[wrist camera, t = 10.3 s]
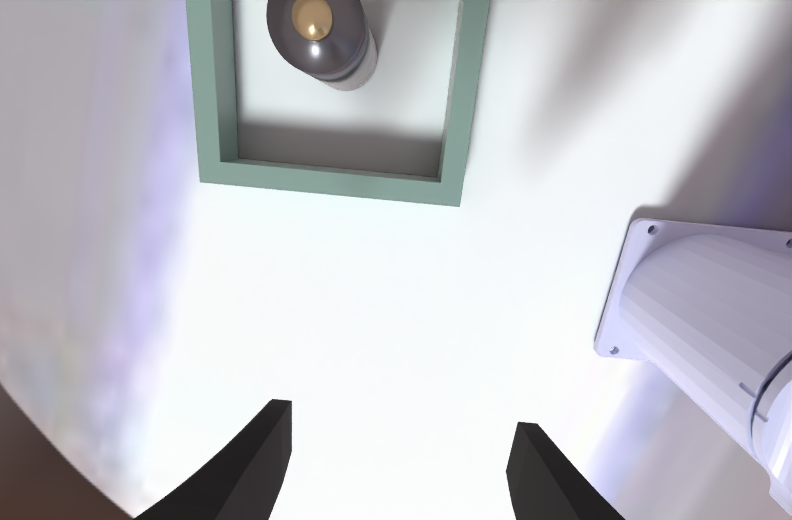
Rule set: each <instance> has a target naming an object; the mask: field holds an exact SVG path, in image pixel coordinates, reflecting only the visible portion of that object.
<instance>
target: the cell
mask: <svg viewBox="0 0 792 520" xmlns="http://www.w3.org/2000/svg"><path fill="white" fill-rule="evenodd" d="M267 25H268V30H269V34H270V37H271V39H272V42H273V44H274V45H275V47H276V49H277V50H278V52H279V53H280V55H281V56H282V57H283V58H284V59H285V60H286V61H287V62H288V63H290V64H291V65H292V66H294V67H295V68H297V69H299V70H301V71H303V72H305V73H306V74H308V75H310V76H312V77H314V78H316V79H318V80H319V81H321V82H323V83H325V84H327V85H329V86H330V87H332V88H334V89H337V90H342V91H350V90H355V89H357V88H359V87H361V86H363V85H364V84H365V83H366V82H367V81H368V80H369V79H370V78H371V76H372V74H373V73H374V70H375V67H376V64H377V48H376V44H375V41H374V38H373V35H372V32H371V30H370V27H369V24H368V22H367V19H366V16H365V13H364V11H363V8H362V5H361V3H360V0H268V4H267Z"/></svg>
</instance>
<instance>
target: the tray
mask: <svg viewBox="0 0 792 520" xmlns="http://www.w3.org/2000/svg"><path fill="white" fill-rule="evenodd" d="M489 4H490V0H460V1H459V9H458V18H457V26H456V34H455V42H454V50H453V58H452V66H451V74H450V82H449V90H448V98H447V106H446V114H445V122H444V130H443V138H442V146H441V154H440V162H439V170H438V178H437V177H427V176H416V175H406V174H396V173H385V172H375V171H364V170H354V169H343V168H333V167H322V166H312V165H301V164H291V163H280V162H270V161H259V160H249V159H239V154H238V131H237V108H236V86H235V63H234V40H233V18H232V0H186V11H187V24H188V36H189V49H190V62H191V75H192V88H193V100H194V113H195V126H196V139H197V151H198V164H199V177H200V182H203V183H214V184H224V185H235V186H245V187H256V188H266V189H277V190H287V191H298V192H308V193H319V194H329V195H340V196H350V197H361V198H371V199H382V200H392V201H403V202H413V203H424V204H434V205H445V206H455V207H460V201H461V195H462V188H463V181H464V174H465V167H466V161H467V154H468V147H469V140H470V133H471V127H472V120H473V113H474V106H475V100H476V93H477V86H478V79H479V72H480V66H481V59H482V52H483V45H484V38H485V32H486V25H487V18H488V11H489Z"/></svg>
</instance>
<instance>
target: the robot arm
mask: <svg viewBox="0 0 792 520" xmlns="http://www.w3.org/2000/svg"><path fill="white" fill-rule="evenodd" d="M652 225H654V229H653V231H652V232H650V233H648V229H649V227H650V226H652ZM788 240H790V242H789V243H788V244H787V245H786V243H787V242H788ZM612 347H615V349H614V350H612V351H610V349H611V348H612ZM594 351H595V352H596V353H597V354H598V355H599V356H601V357H609V358H619V359H630V360H641V361H651V362H654V363H655V364H656V365H657V366H658V367H659V368H660V369H661V370H662V371H663V372H664V373H665V374H666V375H667V376H668V377H669V378H670V379H671V380H672V381H673V382H675V383H676V384H677V385H678V386H679V387H680V388H681V389H682V390H683V391H684V392H685V393H686V394H687V395H688V396H689V397H690V398H691V399H692V400H693V401H694V402H695V403H697V404H698V405H699V406H700V407H701V408H702V409H703V410H704V411H705V412H706V413H707V414H708V415H709V416H710V417H711V418H712V419H713V420H714V421H715V422H716V423H717V424H719V425H720V426H721V427H722V428H723V429H724V430H725V431H726V432H727V433H728V434H729V435H730V436H731V437H732V438H733V439H734V440H735V441H736V442H737V443H738V444H739V445H741V446H742V447H743V448H744V449H745V450H746V451H747V452H748V453H749V454H750V455H751V456H752V457H753V458H754V459H755V460H756V461H757V462H758V463H759V464H760V465H762V466H763V467H764V468H765V469H766V471H767V472H768V474H769V476H770V479H771V487H770V491H769V494H770V495H771V496H772V497H773V498H774V499H775V500H776V501H777V502H778V503H779V504H780V505H781V506H782V507H783V509H784V510H785V511H786V512H787V513H788V514H789V515H790V516H791V517H792V232H785V231H775V230H764V229H754V228H743V227H733V226H722V225H712V224H701V223H691V222H680V221H670V220H659V219H649V218H638V219H636V220H634V221H633V222H632V223H631V225H630V227H629V230H628V234H627V237H626V240H625V244H624V247H623V250H622V254H621V257H620V260H619V264H618V267H617V270H616V273H615V277H614V280H613V283H612V287H611V290H610V293H609V297H608V300H607V303H606V307H605V310H604V313H603V317H602V320H601V323H600V327H599V330H598V333H597V337H596V340H595V343H594ZM291 452H292V401H288V400H278V399H272V400H271V401H269V402H268V403H267V404H266V406H265V407H264V408H263V409H262V410H261V411H260V412H259V413H258V414H257V415H256V416H255V417H254V418H253V419H252V420H251V421H250V422H249V423H248V424H247V425H246V426H245V427H244V428H243V429H242V430H241V431H240V432H239V433H238V434H237V435H236V436H235V437H234V438H233V439H232V440H231V441H230V442H229V443H228V444H227V445H226V446H225V447H224V448H223V449H222V450H221V451H219V452H218V453H217V454H216V455H215V456H214V457H213V458H212V459H210V460H209V461H208V462H207V463H206V464H205V465H204V466H202V467H201V468H200V469H199V470H198V471H197V472H196V473H194V474H193V475H192V476H191V477H189V478H188V479H187V480H186V481H185V482H183V483H182V484H181V485H180V486H178V487H177V488H176V489H174V490H173V491H172V492H170V493H169V494H168V495H167V496H165V497H164V498H163V499H161V500H160V501H159V502H157V503H156V504H154V505H153V506H151V507H150V508H149V509H147V510H146V511H144V512H143V513H142V514H140V515H139V516H137V517H136V518H134V519H133V520H268V519H269V517H270V514H271V512H272V509H273V507H274V504H275V502H276V499H277V497H278V494H279V492H280V489H281V487H282V484H283V480H284V477H285V473H286V470H287V466H288V463H289V459H290V456H291ZM506 474H507V480H508V486H509V491H510V496H511V501H512V506H513V510H514V513H515V517H516V520H625V519H624V518H623V517H622V516H621V515H620V514H619V513H618V512H617V511H616V510H615V509H614V508H613V507H612V506H611V505H610V504H609V503H608V502H607V501H606V500H605V499H604V498H603V497H602V496H601V495H600V494H599V493H598V492H597V491H596V490H595V488H594V487H593V486H592V485H591V484H590V483H589V482H588V481H587V480H586V479H585V478H584V477H583V476H582V474H581V473H580V472H579V471H578V470H577V469H576V468H575V467H574V466H573V464H572V463H571V462H570V461H569V460H568V459H567V458H566V456H565V455H564V454H563V453H562V452H561V451H560V449H559V448H558V447H557V446H556V445H555V444H554V442H553V441H552V440H551V439H550V438H549V437H548V435H547V434H546V433H545V432H544V431H543V430H542V429H541V427H540V426H539V425H538V424H536V423H525V422H518V424H517V428H516V432H515V436H514V440H513V444H512V448H511V453H510V457H509V461H508V465H507V469H506Z"/></svg>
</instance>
